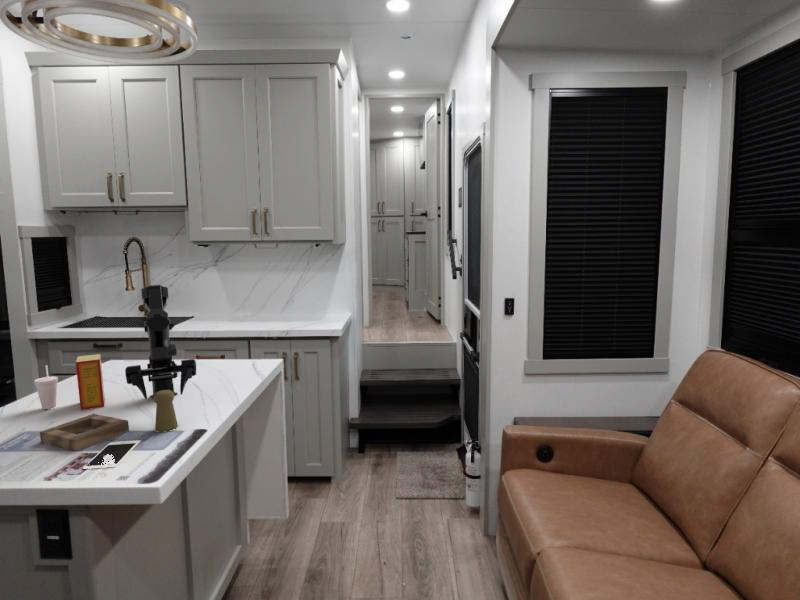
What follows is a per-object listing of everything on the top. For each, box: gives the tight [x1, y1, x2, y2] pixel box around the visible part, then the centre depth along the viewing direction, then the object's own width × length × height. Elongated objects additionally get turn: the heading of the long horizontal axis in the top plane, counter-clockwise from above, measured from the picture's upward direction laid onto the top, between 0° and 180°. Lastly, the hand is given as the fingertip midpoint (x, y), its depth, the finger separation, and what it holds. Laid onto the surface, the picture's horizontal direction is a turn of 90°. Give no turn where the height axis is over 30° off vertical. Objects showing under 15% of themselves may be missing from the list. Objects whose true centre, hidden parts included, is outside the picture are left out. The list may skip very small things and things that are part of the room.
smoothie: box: [33, 364, 59, 410], centre depth 166 cm, size 6×6×14 cm
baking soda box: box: [75, 353, 106, 411], centre depth 168 cm, size 10×6×16 cm
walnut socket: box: [39, 413, 130, 452], centre depth 142 cm, size 15×15×3 cm
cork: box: [153, 390, 179, 433], centre depth 146 cm, size 6×6×11 cm
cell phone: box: [82, 439, 141, 469], centre depth 130 cm, size 8×16×1 cm, turn 8°
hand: (164, 396), depth 147 cm, fingers open, 9 cm apart
